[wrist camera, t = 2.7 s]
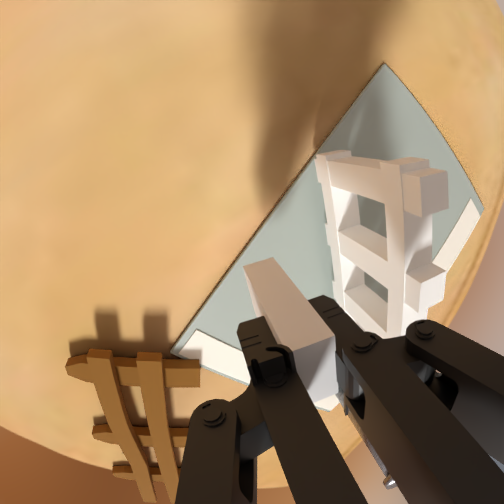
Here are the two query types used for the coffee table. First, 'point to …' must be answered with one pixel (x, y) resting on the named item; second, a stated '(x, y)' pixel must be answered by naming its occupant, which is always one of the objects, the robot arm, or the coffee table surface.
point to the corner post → (367, 443)
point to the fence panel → (378, 247)
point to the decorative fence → (152, 387)
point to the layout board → (314, 218)
